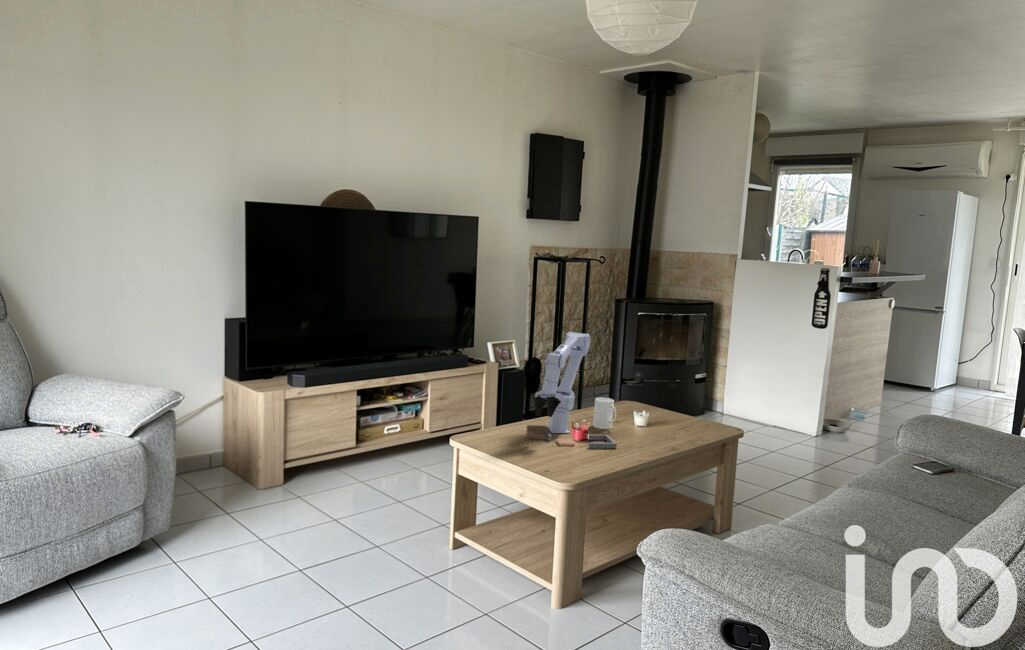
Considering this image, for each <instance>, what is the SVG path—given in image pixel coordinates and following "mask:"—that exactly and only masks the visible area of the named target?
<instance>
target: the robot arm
mask: <svg viewBox="0 0 1025 650" xmlns="http://www.w3.org/2000/svg"><path fill="white" fill-rule="evenodd" d="M591 342H592V341H591V335H590V334H589V333H579V332H573V331H568V332H567V333H566V334H565V338H564V342H563V344H562V343H561V344H560V345H559V346H558V347H557V348H556V349H555V350H554V351H553V352H550V353H548V354H547V355H546V358H545V367H544V369H545V374H544V377H543V378H544V379H543V383H542V387H541V390H539V391H538V392H535V395H534V397H533V402H534V410H535V411H534V412H535V413H534V414H535V416H537V417H541V416H542V412H543V409H544V407H545V405H546V403H547V409H546V416H547V417H549V422H548V425H546V426H547V427H548V428H549V429H548V431H550V432H551V434H571V431H570V430H569V429H568V427H569V419H570V417H569V415H570V411H571V410H573V408H574V405H575V399H576V395H575V393H574V391H573V390H572V388H573V385H574V382H575V379H576V376H577V374H578V371H579V369H580V364H581V362H582V359H583V357H584V356H586V355H587V353H588V352H589V349H590V346H591ZM568 358H569V360H568V362H567V364H566V361H567V359H568ZM565 364H566V368H565V370H564V373H563V376H562V379H561V382H560V384H559V380H560V375H561V371H562V369H564V367H565ZM558 385H559V386H558Z"/></svg>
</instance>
